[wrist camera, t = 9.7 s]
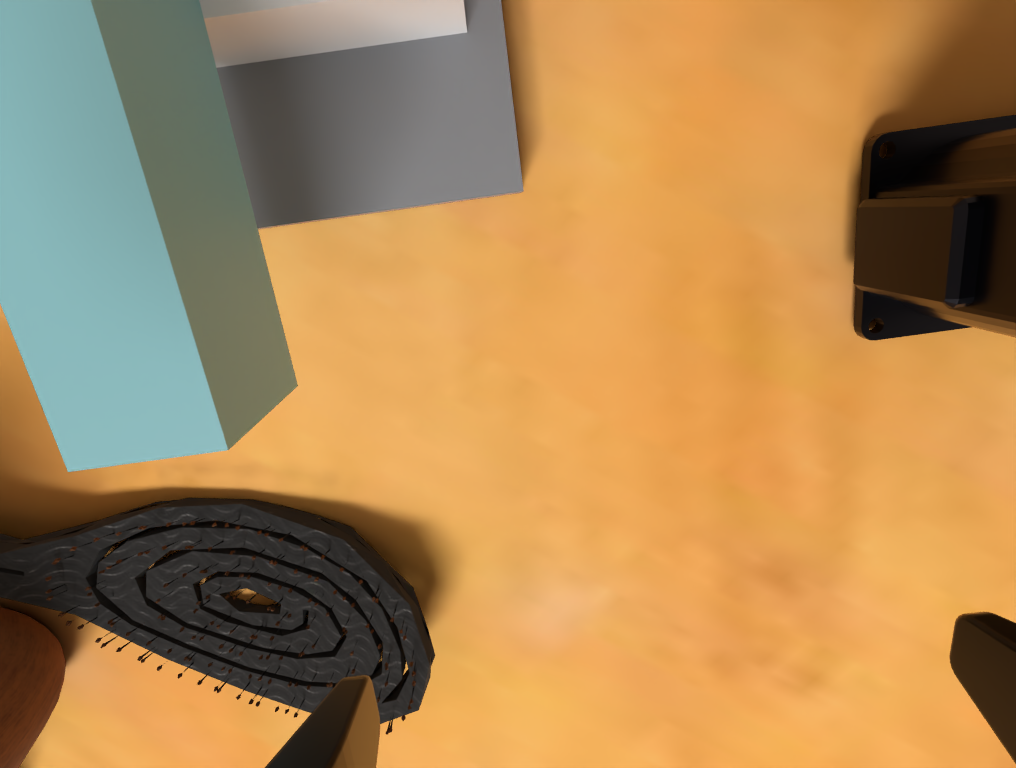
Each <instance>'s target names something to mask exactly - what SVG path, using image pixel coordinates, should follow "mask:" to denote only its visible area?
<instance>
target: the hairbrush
mask: <svg viewBox="0 0 1016 768" xmlns="http://www.w3.org/2000/svg"><path fill="white" fill-rule="evenodd" d="M166 502H169V503H166ZM160 503H165V504H161V505H158V506H154V507H150V508H146V509H142V510H139V509H140V507H138V508H135V509H132V510H129V511H126V512H123V513H120V514H117V515H114V516H111V517H108V518H105V519H102V520H98V521H95V522H91V523H87V524H83V525H79V526H76V527H72V528H68V529H64V530H60V531H56V532H52V533H48V534H44V535H40V536H36V537H32V538H28V539H24V540H21V539H18V538H14V537H11V536H8V535H4V534H1V533H0V597H1V598H6V599H11V600H15V601H19V602H23V603H28V604H32V605H36V606H40V607H45V608H49V609H53V610H57V611H62V613H60V615H59V616H60V617H62V616H63V615H64V614H65V613H70V614H74V615H77V616H79V617H81V618H83V619H85V620H87V621H89V622H91V623H94V624H96V625H98V626H100V627H102V628H104V629H106V630H108V631H110V633H111V632H112V633H114V634H116V635H118V636H120V637H123V638H125V639H127V640H129V641H130V642H133V643H135V644H137V645H139V646H141V647H143V648H145V649H147V650H149V651H152V652H154V653H156V654H158V655H160V656H162V657H164V658H166V659H168V660H171V661H173V662H176V663H178V664H181V665H183V666H186V667H188V668H191V669H193V670H196V671H198V672H201V673H203V674H206V676H207V675H208V676H211V677H213V678H216V679H218V680H221V681H222V682H225V683H228V684H230V685H233V686H235V687H238V688H240V689H243V691H244V690H245V691H248V692H251V693H254V694H256V695H260V696H263V697H266V698H269V699H271V700H274V701H277V702H280V703H283V704H286V705H289V707H290V706H292V707H295V708H298V709H301V710H304V711H306V712H310V713H312V712H313V711H314V710H315V709H316V708H317V706H318V705H319V704H320V703H321V702H322V701H323V699H324V698H325V697H326V696H327V695H328V694H329V692H330V691H331V690H332V689H333V688H334V687H335V685H336V684H337V683H338V682H339V681H340V680H341V679H343V678H345V677H351V676H360V675H367V676H369V677H370V679H371V680H372V684H373V688H374V693H375V698H376V702H377V707H378V711H379V717H380V724H381V723H384V722H387V721H391V720H392V722H391V726H390V722H389V725H388V729H387V731H386V734H388V733H390V732H392V723H393V719H395V718H398V717H401V716H402V720H403V721H404V720H405V715H407V714H409V713H412V712H415V711H418V710H419V707H420V705H421V702H422V699H423V696H424V693H425V690H426V688H427V685H428V682H429V679H430V673H431V665H432V662H433V660H434V657H435V653H434V649H433V646H432V642H431V638H430V635H429V631H428V628H427V625H426V622H425V620H424V617H423V614H422V611H421V608H420V606H419V603H418V600H417V597H416V594H415V592H414V589H413V587H412V586H411V585H410V584H409V583H408V582H407V581H406V580H405V579H404V578H403V577H402V576H401V575H400V574H399V573H398V572H396V571H395V570H394V569H393V568H392V567H391V566H390V565H389V564H388V563H387V562H386V561H385V560H384V559H383V558H382V557H381V556H380V555H379V554H378V553H377V552H376V551H375V550H374V549H373V548H372V547H371V546H370V545H369V544H368V543H367V542H366V541H365V540H363V539H362V538H361V537H360V536H359V535H358V534H357V533H356V532H355V531H354V530H353V529H352V528H351V527H350V526H347V525H344V524H341V523H338V522H335V521H332V520H330V519H327V518H324V517H321V516H318V515H314V514H311V513H307V512H304V511H300V510H297V509H293V508H291V509H290V507H288V508H286V506H285V507H282V506H283V505H282V506H279V505H275V504H271V503H267V502H262V501H257V500H250V499H215V498H185V499H181V500H172V501H159V502H155V503H151V504H148V505H153V504H160ZM145 506H147V505H145ZM142 507H143V506H142ZM319 518H320V519H321V520H320V519H319ZM214 520H217V521H214ZM160 526H162V527H160ZM155 527H159V528H156V529H153V528H155ZM151 529H153V530H151ZM148 530H150V531H148ZM146 531H147V532H146ZM144 532H145V533H144ZM141 533H142V534H141ZM128 537H129V538H128ZM126 538H127V539H126ZM130 538H131V539H130ZM123 539H126V540H124V541H123V542H122V543H121V544H120V545H119V546H118V547H117V548H116V549H114V550H113V551H112V552H111V553H110V554H108V555H107V556H106V557H105V558H104V559H102V558H103V556H104V555H105V554H106V553H107V552H108V551H109V550H110V548H111V547H112V546H113V545H114V544H115V543H117V542H119V541H121V540H123ZM170 550H180V551H178V552H177V553H174V554H172V555H171V556H169V557H167V558H165V559H163V560H161V561H159V562H157V563H155V562H156V561H157V560H159V559H160V558H161V557H163V556H164V555H165V554H166V553H168V552H169V551H170ZM101 559H102V560H101ZM153 563H155V564H154V566H152V567H151V568H150V569H149V570H148V567H149V566H151V565H152V564H153ZM218 571H219V572H218ZM216 572H217V573H216ZM145 573H146V574H145ZM214 573H216V574H215V575H213V576H212V577H211V578H210V579H208V580H207V581H206V582H204V583H203V584H202V585H200V587H201V590H200V588H199V586H198V584H199V583H200V581H201V580H202V579H204V578H206V577H208V576H210V575H212V574H214ZM144 575H145V578H144ZM244 588H248V589H250V590H252V591H254V592H257V593H259V594H261V595H263V596H265V597H267V598H270V599H272V600H274V601H276V602H278V603H277V604H276V605H280V604H281V606H274V605H273V604H274V603H275V602H274V603H273V604H272V605H270V606H266V605H260V604H259V605H255V604H252V603H250V601H251V599H252V598H253V597H254V596H255V595H254V596H253V597H252V598H251V599H249V600H247V601H244V600H241V599H238V598H236V597H237V596H238V595H239V594H240V593H239V594H238V595H237V596H234V597H232V596H231V595H230V591H233V592H234V591H236V590H239V589H244ZM244 590H245V589H244ZM244 590H243V591H244ZM233 592H232V593H233ZM279 603H280V604H279ZM256 604H257V603H256ZM308 613H309V614H308ZM307 614H308V618H305V617H306V615H307ZM89 622H88V623H89ZM70 624H71V621H68V622H67V624H66V625H70ZM86 624H87V623H86ZM83 627H84V625H83V624H82V625H81V626H79V627H78V629H82V628H83ZM343 633H344V634H346V635H345V636H344V637H342V635H343ZM108 634H109V633H108ZM108 634H107V635H108ZM105 636H106V635H105ZM116 637H117V636H116ZM116 637H115V638H116ZM341 637H342V638H341ZM102 638H103V637H102ZM102 638H98V639H97V640H96V641H95V642H97V643H99V642H100V641H101V639H102ZM115 638H113V639H115ZM340 638H341V639H340ZM113 639H111V640H110V641H112V640H113ZM110 641H108V642H106V643H103V644H102V646H101V648H102V647H105V646H106V645H107V644H108V643H109V642H110ZM130 642H129V643H130ZM129 643H127V644H126V645H128V644H129ZM126 645H124V646H123V647H121V648H120V647H119V648H118V649H117V651H116V652H120V651H121V650H122V648H124V647H125V646H126ZM382 649H383V659H382V661H380V662H379V660H380V656H381V651H382ZM149 651H148V652H149ZM148 652H147V653H148ZM147 653H145V654H144V655H142V656H139V658H138V660H139V661H140V660H141V659H142V658H143V656H145V655H146V654H147ZM151 654H152V653H151ZM151 654H150V655H151ZM150 655H148V656H147V657H149V656H150ZM147 657H146V658H147ZM146 658H144V659H142V660H141V663H142V662H145V659H146ZM406 661H407V665H408V670H407V671H406V673H405V674H404V675H403V673H404V669H405V664H406ZM378 662H379V663H378ZM164 664H165V663H164ZM164 664H163V665H164ZM161 668H162V665H161V666H159V667H158V668H157V671H158V670H160V669H161ZM188 668H187V669H188ZM187 669H186V670H187ZM186 670H185V671H186ZM181 676H182V673H181V674H178V678H180V677H181ZM206 676H205V677H206ZM205 677H204V678H205ZM204 678H203V679H202V680H201V681H200V680H199V682H198V685H199V684H201V683H202V681H203V680H204ZM222 682H221V683H222ZM225 683H224V684H223V685H222V686H221V687H220V688H219V689H218V686H217V687H215V689H214V691H216V690H217V693H219V692H220V691H221V688H222V687H223V686H224V685H225ZM243 691H242V692H243ZM256 695H255V696H256ZM240 696H241V694H240V695H238V697H236V698H237V700H238V699H239V698H240ZM263 697H262V698H263ZM254 698H255V697H254ZM254 698H253V699H254ZM262 698H261V699H262ZM253 699H251V700H250V702H249V704H252V703H253V701H254V700H253ZM259 704H260V701H259V702H257V703H256V706H257V707H258V706H259ZM278 710H279V707H277V708H276V709H275V712H277V711H278ZM298 711H299V710H298ZM287 712H289V709H287V710H286V711H285V714H286V713H287ZM297 715H298V714H297V712H296V713H295V715H294V717H297ZM389 727H390V728H389Z"/></svg>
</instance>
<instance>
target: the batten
mask: <svg viewBox="0 0 1016 768" xmlns="http://www.w3.org/2000/svg"><path fill="white" fill-rule="evenodd" d="M0 304H1V307H2V309H3V312H4V314H5V317H6V319H7V321H8V324H9V326H10V329H11V331H12V334H13V336H14V339H15V341H16V344H17V346H18V349H19V351H20V354H21V356H22V359H23V361H24V364H25V366H26V369H27V371H28V374H29V376H30V379H31V381H32V384H33V386H34V388H35V391H36V393H37V396H38V398H39V401H40V403H41V406H42V408H43V411H44V413H45V416H46V418H47V421H48V423H49V426H50V428H51V431H52V433H53V436H54V438H55V441H56V443H57V446H58V448H59V451H60V453H61V456H62V458H63V460H64V463H65V465H66V468H67V470H68V472H72V471H79V470H86V469H94V468H101V467H108V466H116V465H123V464H130V463H138V462H145V461H152V460H160V459H167V458H174V457H182V456H189V455H196V454H203V453H211V452H218V451H225V450H229V449H230V448H231V447H232V446H233V445H234V444H235V443H236V442H238V441H239V440H240V439H241V438H242V437H243V436H244V435H245V434H246V433H247V432H248V431H249V430H250V429H252V428H253V427H254V426H255V425H256V424H257V423H258V422H259V421H260V420H261V419H262V418H263V417H265V416H266V415H267V414H268V413H269V412H270V411H271V410H272V409H273V408H274V407H275V406H276V405H278V404H279V403H280V402H281V401H282V400H283V399H284V398H285V397H286V396H287V395H288V394H289V393H290V392H292V391H293V390H294V389H295V388H296V387H297V386H298V385H297V381H296V377H295V373H294V369H293V365H292V361H291V357H290V353H289V349H288V346H287V342H286V338H285V334H284V330H283V326H282V322H281V318H280V314H279V310H278V306H277V303H276V299H275V295H274V291H273V287H272V283H271V279H270V275H269V271H268V267H267V263H266V260H265V256H264V252H263V248H262V244H261V240H260V236H259V232H258V228H257V224H256V220H255V217H254V213H253V209H252V205H251V201H250V197H249V193H248V189H247V185H246V181H245V177H244V174H243V170H242V166H241V162H240V158H239V154H238V150H237V146H236V142H235V138H234V134H233V131H232V127H231V123H230V119H229V115H228V111H227V107H226V103H225V99H224V95H223V91H222V88H221V84H220V80H219V76H218V72H217V68H216V64H215V60H214V56H213V52H212V48H211V45H210V41H209V37H208V33H207V29H206V25H205V21H204V17H203V13H202V9H201V5H200V2H199V0H0Z"/></svg>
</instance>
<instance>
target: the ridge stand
mask: <svg viewBox="0 0 1016 768" xmlns="http://www.w3.org/2000/svg"><path fill="white" fill-rule="evenodd" d="M199 2H200V5H201V9H202V13H203V17H204V21H205V25H206V29H207V33H208V37H209V41H210V45H211V48H212V52H213V56H214V60H215V64H216V68H217V72H218V76H219V80H220V84H221V88H222V91H223V95H224V99H225V103H226V107H227V111H228V115H229V119H230V123H231V127H232V131H233V134H234V138H235V142H236V146H237V150H238V154H239V158H240V162H241V166H242V170H243V174H244V177H245V181H246V185H247V189H248V193H249V197H250V201H251V205H252V209H253V213H254V217H255V220H256V224H257V228H258V229H263V228H270V227H277V226H285V225H292V224H299V223H306V222H313V221H321V220H328V219H335V218H342V217H349V216H357V215H364V214H371V213H378V212H385V211H393V210H400V209H407V208H414V207H421V206H429V205H436V204H443V203H450V202H458V201H465V200H472V199H479V198H486V197H494V196H501V195H508V194H515V193H521V192H523V183H522V174H521V166H520V157H519V149H518V140H517V132H516V123H515V115H514V106H513V98H512V89H511V81H510V72H509V64H508V55H507V47H506V38H505V30H504V21H503V13H502V4H501V0H199Z"/></svg>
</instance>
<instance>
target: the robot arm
mask: <svg viewBox="0 0 1016 768" xmlns="http://www.w3.org/2000/svg"><path fill="white" fill-rule="evenodd" d="M883 143H884V144H885V145H886V148H887V152H886V155H885V156H884V157H883V158H882V157H881V156H880V154H879V149H880V146H881V145H882V144H883ZM854 284H855V285H856V295H855V314H854V329H855V332H856V333H857V335H859V336H860V337H862V338H865V339H868V340H881V339H888V338H896V337H903V336H910V335H918V334H925V333H932V332H940V331H947V330H954V329H962V328H969V327H975V328H979V329H983V330H987V331H991V332H996V333H1000V334H1004V335H1008V336H1012V337H1016V115H1011V116H1004V117H996V118H989V119H982V120H975V121H968V122H960V123H953V124H946V125H939V126H932V127H924V128H917V129H910V130H903V131H896V132H888V133H883V134H879V135H876V136H873V137H872V138H871V139H870V140H869V141H868V142H867V143H866V145H865V147H864V151H863V160H862V179H861V198H860V206H859V207H858V209H857V221H856V241H855V261H854ZM873 319H875V320H876V324H875V327H874V328H873V329H872V330H869V324H870V322H871V321H872V320H873ZM950 663H951V667H952V669H953V671H954V674H955V675H956V677H957V678H958V680H959V681H960V683H961V684H962V686H963V687H964V689H965V690H966V692H967V693H968V695H969V696H970V697H971V699H972V700H973V702H974V703H975V705H976V706H977V708H978V709H979V711H980V712H981V714H982V715H983V717H984V718H985V719H986V721H987V722H988V724H989V725H990V727H991V728H992V730H993V731H994V733H995V734H996V736H997V737H998V739H999V740H1000V741H1001V743H1002V744H1003V746H1004V747H1005V749H1006V750H1007V752H1008V753H1009V755H1010V756H1011V758H1012V759H1013V760H1014V762H1015V763H1016V623H1014V622H1012V621H1010V620H1007V619H1005V618H1003V617H1000V616H998V615H996V614H993V613H989V612H977V613H967V614H962V615H960V616H959V617H958V618H957V619H956V622H955V626H954V632H953V638H952V644H951V650H950ZM379 736H380V717H379V711H378V707H377V702H376V698H375V693H374V688H373V684H372V680H371V679H370V677H369V676H367V675H360V676H351V677H345V678H343V679H341V680H340V681H339V682H338V683H337V684H336V685H335V687H334V688H333V689H332V690H331V691H330V692H329V694H328V695H327V696H326V697H325V698H324V699H323V701H322V702H321V703H320V704H319V705H318V706H317V708H316V709H315V710H314V711H313V712H312V713H311V715H310V716H309V717H308V718H307V719H306V720H305V722H304V723H303V724H302V725H301V726H300V727H299V729H298V730H297V731H296V732H295V733H294V734H293V736H292V737H291V738H290V739H289V740H288V741H287V743H286V744H285V745H284V746H283V747H282V748H281V750H280V751H279V752H278V753H277V754H276V755H275V757H274V758H273V759H272V760H271V761H270V762H269V764H268V765H267V766H266V767H265V768H376V763H377V754H378V745H379Z"/></svg>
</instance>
